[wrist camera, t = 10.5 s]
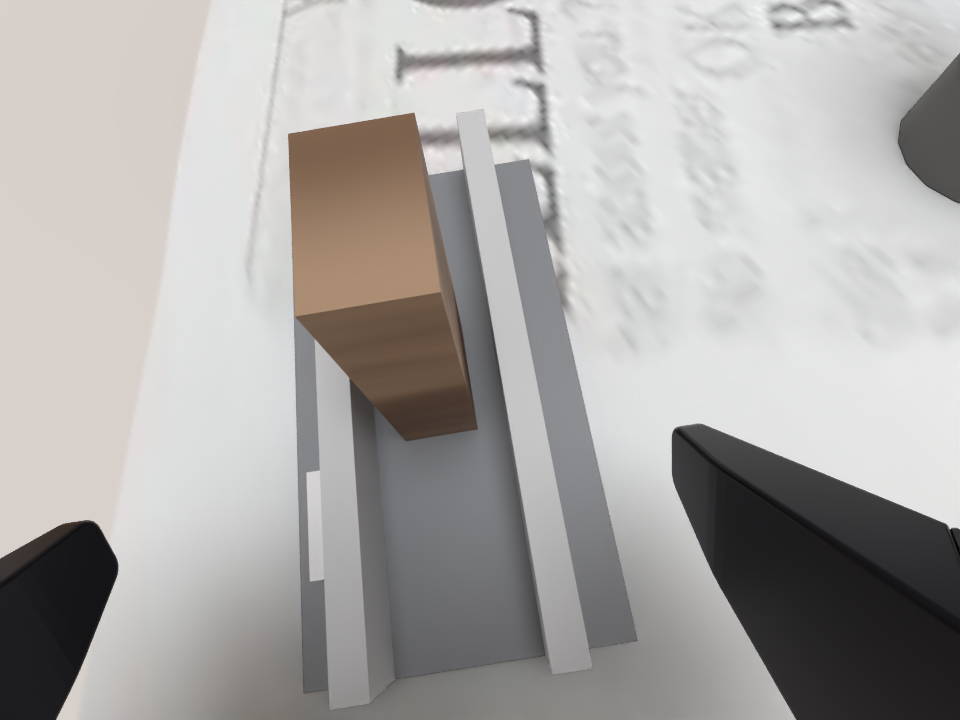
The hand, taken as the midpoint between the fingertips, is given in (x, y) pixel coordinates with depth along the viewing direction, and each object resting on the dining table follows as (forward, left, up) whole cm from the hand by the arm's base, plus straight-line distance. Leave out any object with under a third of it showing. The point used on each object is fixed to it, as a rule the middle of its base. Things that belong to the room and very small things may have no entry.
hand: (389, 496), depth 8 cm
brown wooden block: (+4, +3, -10) cm, 11 cm away
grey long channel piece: (+4, +3, -11) cm, 12 cm away
